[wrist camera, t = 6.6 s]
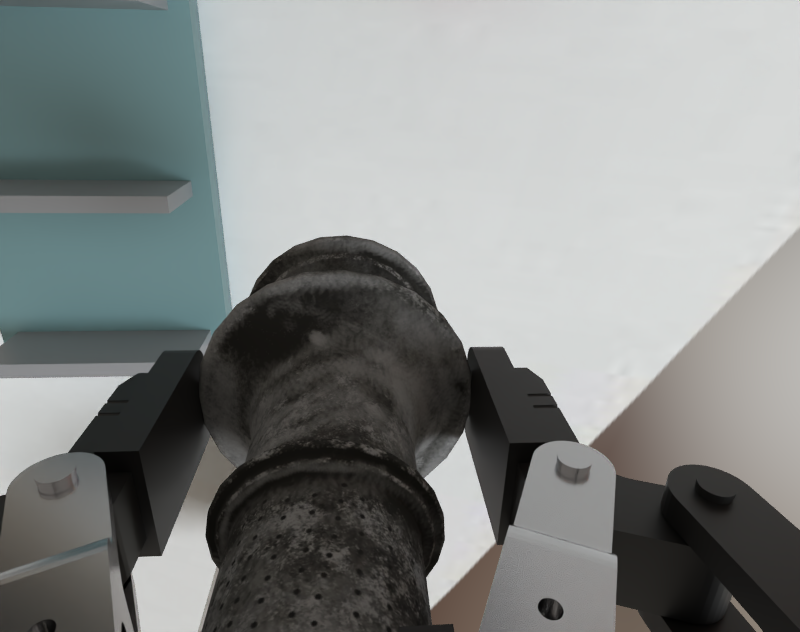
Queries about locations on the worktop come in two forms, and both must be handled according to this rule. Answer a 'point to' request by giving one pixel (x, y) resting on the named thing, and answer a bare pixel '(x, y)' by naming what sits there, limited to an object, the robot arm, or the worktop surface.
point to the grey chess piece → (330, 442)
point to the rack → (105, 188)
